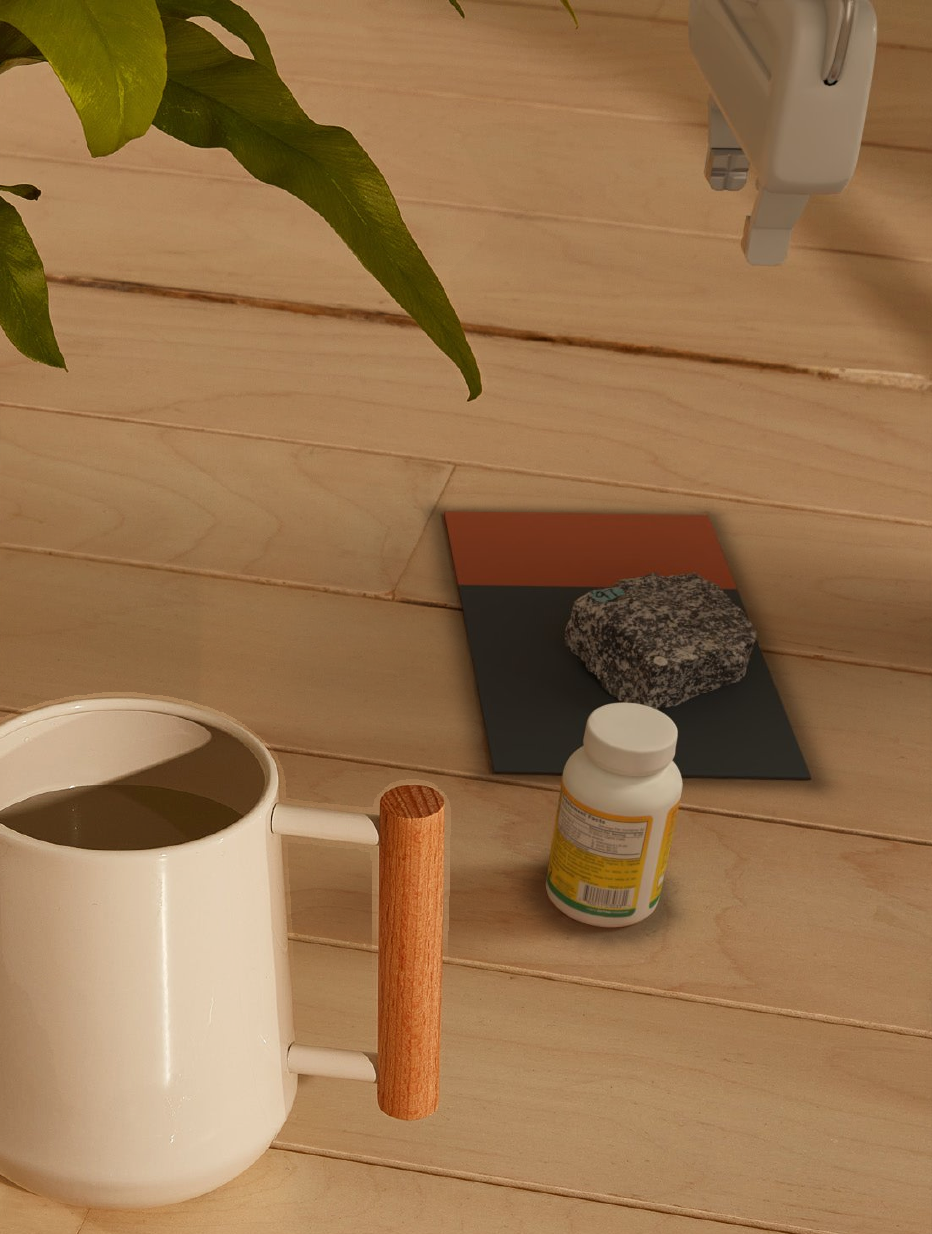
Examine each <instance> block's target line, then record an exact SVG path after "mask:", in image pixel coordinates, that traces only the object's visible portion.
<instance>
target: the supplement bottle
mask: <svg viewBox="0 0 932 1234" xmlns="http://www.w3.org/2000/svg"><path fill="white" fill-rule="evenodd" d="M677 736H678V731H677V727H676V725H675V724H674V722H673V721H672V720H671V719H670V718H669V717H668V716H667V715H665V714H664V713H662V712H660V711H658V710H656V709H654V708H651V707H648V706H645V705H641V704H636V703H613V704H608V705H604V706H601V707H599V708H598V709H596V710H594V711H593V712H592V713H591V715H590V716H589V718H588V720H587V724H586V729H585V735H584V739H583V744H584V746H582V747H580V748H579V749H577V750H576V751H575V752H574V753H573V754H572V755H571V756H570V758H569V759H568V761H567V763H566V765H565V767H564V771H563V775H562V776H561V782H560V789H559V795H558V803H557V807H556V808H557V809H556V816H555V819H554V826H553V834H552V839H551V846H550V851H549V858H548V859H549V860H548V865H547V874H546V880H545V889H546V894H547V896H548V899H549V900H550V901H551V903H552V904H553V905H554V907H556V908H557V909H558V910H559V911H560V912H562V913H563V914H565V915H566V916H567V917H569V918H571V919H573V920H575V921H577V922H580V923H582V924H585V925H589V926H593V927H594V926H595V927H600V928H622V927H627V926H633V925H635V924H637V923H640V922H641V921H644V920H645V919H647V918H648V917H649V916H650V915H652V914H653V912H654V911H655V910H656V908H657V906H658V904H659V901H660V897H661V893H662V888H663V883H664V878H665V874H666V869H667V864H668V859H669V854H670V850H671V846H672V841H673V835H674V833H675V827H676V821H677V816H678V813H679V807H680V803H681V798H682V793H683V777H681V774H680V771H679V769H678V767H677V766H676V764H675V763H674V762H673V761H672V760H673V758H674V756H675V748H676V742H677Z"/></svg>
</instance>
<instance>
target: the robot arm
mask: <svg viewBox="0 0 932 1234" xmlns="http://www.w3.org/2000/svg"><path fill="white" fill-rule="evenodd" d="M688 3H689V5H688V15H687V16H688V17H687V18H688V19H687V39H688V50H689V56H690V59H691V61H692V63H694V65H695V67H696V69H697V71H698V73H699V75H700V77H701V78H702V80H703V82H704V84H705V86H706V88H707V89H708V91H709V94H708V97H707V98H708V99H707V135H708V136H707V141H708V142H707V143H708V146H707V151H706V157H705V162H704V168H703V175H704V178H705V180H706V181H707V182H708V184H709V187H710V188H711V189H712V190H714V191H716V192H722V191H728V192H739V191H740V190H742V189H743V188H745V186H746V184H747V181H748V172H749V169H750V167H751V168H752V170H753V171H754V173H755V175H756V179H755V189H756V191H757V192H756V195H755V199H754V202H753V206H752V210H751V213H750V215H746V216H745V221H744V225H743V231H742V232H743V233H742V238H741V241H740V248H741V251H742V254H743V255H744V258H745V260H746V262H747V263H748V264H750V265H751V266H754V267H777V266H778V267H779V266H781V265H782V264H783V263H784V262H786V260H787V257H788V254H789V248H790V244H791V239H792V235H793V230H794V228H795V227H796V225H797V223H798V221H799V220H800V217H801V216H802V214H803V212H804V210H805V208H806V206H807V204H808V203H809V201H810V198H811V196H831V195H833V196H834V195H838V194H841V193H843V192H844V191H845V189H846V188H847V186H848V185H849V183H850V182H851V180H852V178H853V175H854V173H855V171H856V168H857V165H858V160H859V154H860V150H861V145H862V139H863V134H864V129H865V124H866V123H865V122H866V117H867V111H868V106H869V99H870V94H871V87H872V81H873V75H874V71H875V70H874V69H875V63H876V62H875V61H876V52H877V44H878V19H877V18H878V17H877V14H876V10H875V7H874V5H873V4H872V2H871V1H870V0H689V2H688Z"/></svg>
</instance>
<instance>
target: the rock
mask: <svg viewBox="0 0 932 1234" xmlns="http://www.w3.org/2000/svg"><path fill="white" fill-rule="evenodd" d="M749 620H750V619H749ZM749 620H748V619H747V618H746V617H745V613H744V612H743V610H742V609H741V608H739V607H738V606H736V605H734V604H733V602H732V600H730V599H729V598H728V597H727V595H726V594H725V593H724V592H723V590H722V589H721V588H720V587H719V586H718V585H717V584H714V583H712V582H709V581H707V580H705V579H703V578H702V577H700V576H699V575H698V574H696V573H691V574H689V575H686V574H682V575H672V576H668V577H664V576H661V575H658V574H657V573H651V574H649V575H645V576H642V577H641V576H640V577H637V578H626V579H622V580H619V581H618V582H617V583H616V584H614V585H613V586H612V587H605V588H598V589H597V590H592V591H590V592H588V593H587V594H586V595H584V596H582V597H580V598H579V599H577V600H576V601H575V602H574V605H573V608H572V613H571V619H570V621H569V622H568V624H567V627H566V630H565V644H566V646H567V647H569V648H570V650H571V651H572V653H573V654H574V655H575V656H576V657H578V658H580V659H581V660H582V662H584V663H586V668H587V670H588V671H590V672H592V673H594V674H595V675H597V678H598V680H599V681H601V683H600V684H601V685H602V686H603V688H604V689H605V690H606V691H607V692H608V693H610V694H611V695H612V696H614V697H615V698H616V699H617V700H618V701H621V702H623V703H636V704H641V705H645V706H648V707H651V708H654V709H656V710H660V709H665V708H667V707H671V706H677V705H679V704H681V703H683V702H684V701H686V700H688V699H689V698H691V697H694V696H697V695H699V694H700V693H707V692H710V691H713V690H716V689H718V688H720V687H723V686H726V685H729V684H730V683H735V682H739V681H741V680H742V679H743V677H744V676H745V673H746V668H747V665H748V664H749V662H750V654H751V651H752V649H753V647H754V642H755V640H756V638H757V631H756V629H755V628H754V625H753V623H752V622H751V621H749Z"/></svg>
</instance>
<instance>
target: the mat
mask: <svg viewBox="0 0 932 1234" xmlns="http://www.w3.org/2000/svg"><path fill="white" fill-rule="evenodd" d="M443 515H444V520H445V524H446V530H447V537H448V541H449V546H450V552H451V556H452V557H451V558H452V561H453V567H454V573H455V577H456V583H457V588H458V593H459V598H460V603H461V609H462V614H463V619H464V623H465V629H466V630H465V631H466V635H467V640H468V641H467V642H468V645H469V650H470V655H471V661H472V667H473V671H474V677H475V682H476V688H477V692H478V697H479V702H480V708H481V713H482V718H483V719H482V720H483V725H484V729H485V734H486V740H487V745H488V746H487V747H488V751H489V756H490V760H491V767H492V771H493V774H502V775H505V774H506V775H507V774H508V775H556V776H557V775H559V776H561V775H562V776H563V771H564V767H565V765H566V763H567V761H568V759H569V758H570V756H571V755H572V754H573V753H574V752H575V751H576V750H577V749H579V748H580V747H582V746H584V744H583V739H584V735H585V729H586V724H587V720H588V718H589V716H590V715H591V713H592V712H593V711H594V710H596V709H598V708H599V707H601V706H604V705H608V704H613V703H623V702H621V701H618V700H617V699H616V698H615V697H614V696H612V695H611V694H610V693H608V692H607V691H606V690H605V689H604V688H603V686H602V685H601V684H600V683H601V681H599V680H598V678H597V675H595V674H594V673H592V672H590V671H588V670H587V668H586V663H584V662H582V660H581V659H580V658H578V657H576V656H575V655H574V654H573V653H572V651H571V650H570V648H569V647H567V646H566V644H565V630H566V627H567V624H568V622H569V621H570V619H571V613H572V608H573V605H574V602H575V601H576V600H577V599H579V598H580V597H582V596H584V595H586V594H587V593H588V592H590V591H592V590H597V589H598V588H605V587H612V586H613V585H614V584H616V583H617V582H618V581H619V580H622V579H626V578H637V577H640V576H641V577H642V576H645V575H649V574H651V573H657V574H658V575H661V576H664V577H668V576H672V575H682V574H686V575H689V574H691V573H696V574H698V575H699V576H700V577H702V578H703V579H705V580H707V581H709V582H712V583H714V584H717V585H718V586H719V587H720V588H721V589H722V590H723V592H724V593H725V594H726V595H727V597H728V598H729V599H730V600H732V602H733V604H734V605H736V606H738V607H739V608H741V609H742V610H743V612H744V613H745V617H746V618H747V619H748V620H749V621H750V618H749V615H748V613H747V610H746V607H745V605H744V603H743V600H742V598H741V595H740V592H739V590H738V588H737V585H736V583H735V580H734V578H733V575H732V572H731V569H730V567H729V564H728V563H727V560H726V557H725V555H724V552H723V549H722V547H721V545H720V542H719V540H718V537H717V534H716V532H715V529H714V527H713V525H712V522H711V519H710V517H709V514H670V513H669V514H668V513H667V514H662V513H659V514H658V513H656V514H655V513H649V514H648V513H599V512H598V513H596V512H595V513H594V512H593V513H590V512H587V513H586V512H584V513H582V512H529V511H528V512H522V511H521V512H519V511H459V510H458V511H455V510H453V511H451V510H444V512H443ZM750 622H751V621H750ZM658 711H660V712H662V713H664V714H665V715H667V716H668V717H669V718H670V719H671V720H672V721H673V722H674V724H675V725H676V727H677V731H678V736H677V742H676V748H675V756H674V758H673V760H672V761H673V762H674V763H675V764H676V766H677V767H678V769H679V771H680V774H681V777H682V778H703V779H705V778H706V779H707V778H708V779H709V778H710V779H711V778H712V779H714V778H715V779H753V780H754V779H756V780H757V779H759V780H760V779H763V780H764V779H765V780H808V781H809V780H812V775H811V772H810V770H809V767H808V765H807V763H806V762H807V761H806V760H805V757H804V755H803V752H802V749H801V747H800V744H799V743H798V740H797V737H796V735H795V732H794V729H793V727H792V725H791V721H790V719H789V717H788V713H787V712H786V709H785V707H784V704H783V702H782V699H781V697H780V694H779V691H778V690H777V687H776V685H775V681H774V679H773V677H772V674H771V671H770V668H769V666H768V663H767V661H766V658H765V656H764V654H763V651H762V649H761V646H760V643H759V641H758V639H757V637H756V640H755V642H754V647H753V649H752V651H751V654H750V662H749V664H748V665H747V668H746V673H745V676H744V677H743V679H742V680H741V681H739V682H735V683H730V684H729V685H726V686H723V687H720V688H718V689H716V690H713V691H710V692H707V693H700V694H699V695H697V696H694V697H691V698H689V699H688V700H686V701H684V702H683V703H681V704H679V705H677V706H671V707H667V708H665V709H660V710H658Z"/></svg>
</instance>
